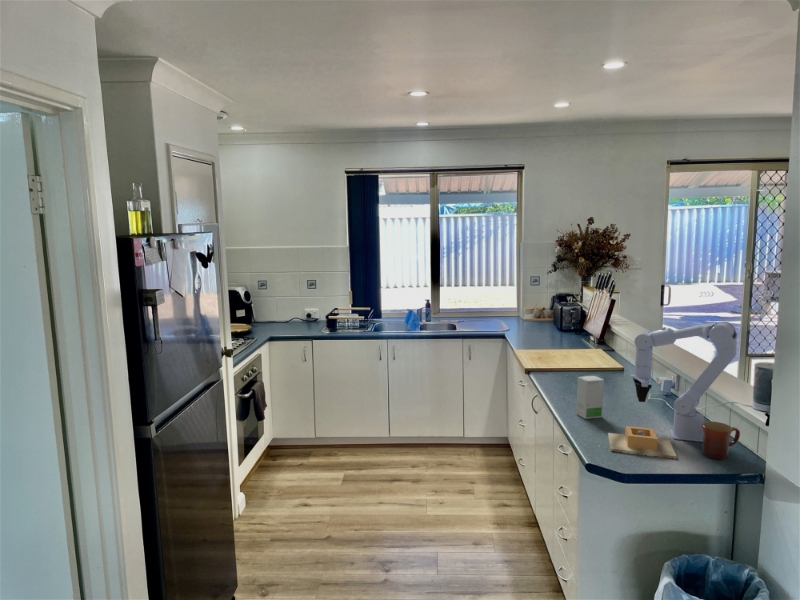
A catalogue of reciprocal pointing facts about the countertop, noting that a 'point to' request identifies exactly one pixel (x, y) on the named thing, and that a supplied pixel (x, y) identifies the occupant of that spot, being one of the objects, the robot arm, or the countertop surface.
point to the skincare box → (590, 397)
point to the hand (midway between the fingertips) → (640, 399)
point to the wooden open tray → (641, 438)
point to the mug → (718, 439)
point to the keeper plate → (620, 445)
